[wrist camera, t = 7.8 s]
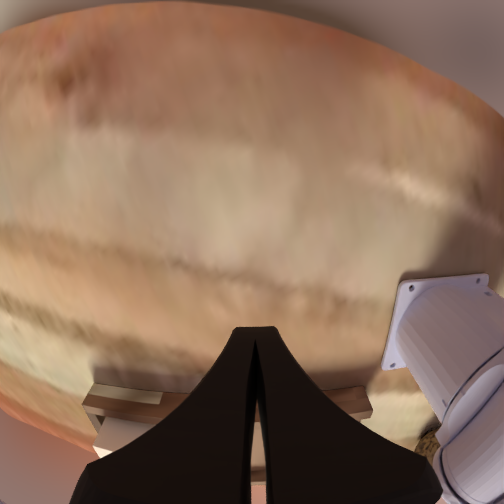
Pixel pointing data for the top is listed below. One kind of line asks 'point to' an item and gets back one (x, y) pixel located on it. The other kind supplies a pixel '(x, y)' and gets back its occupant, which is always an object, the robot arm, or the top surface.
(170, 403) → the box
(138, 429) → the ivory block
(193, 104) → the top surface
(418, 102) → the top surface
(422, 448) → the decorative egg
